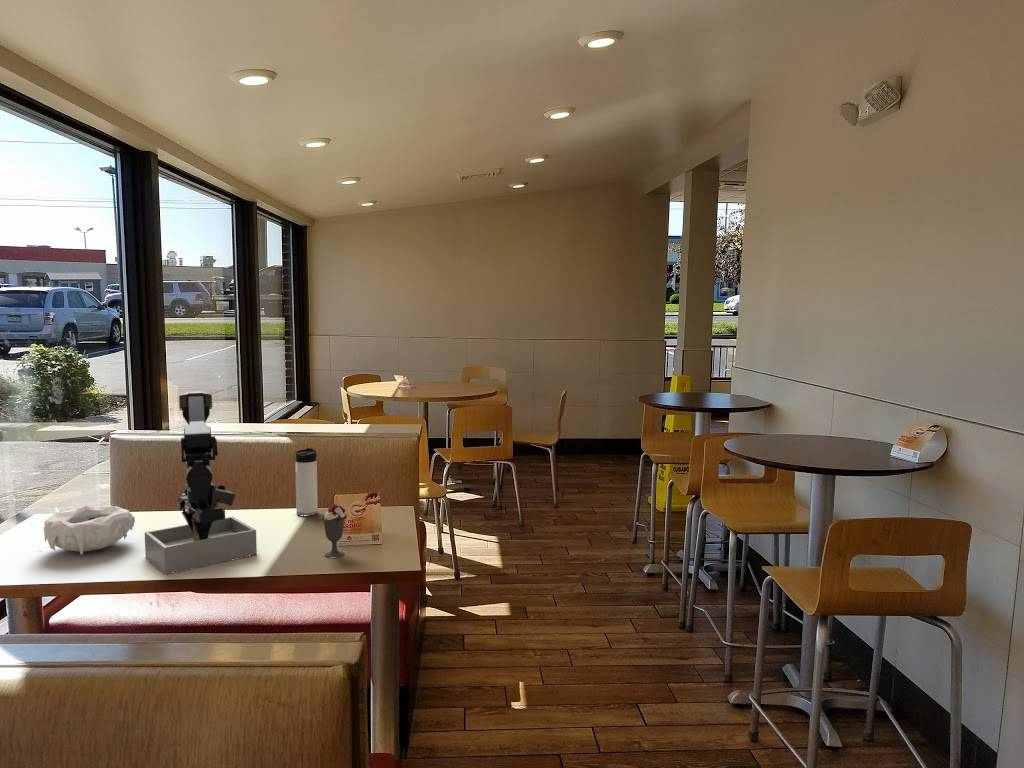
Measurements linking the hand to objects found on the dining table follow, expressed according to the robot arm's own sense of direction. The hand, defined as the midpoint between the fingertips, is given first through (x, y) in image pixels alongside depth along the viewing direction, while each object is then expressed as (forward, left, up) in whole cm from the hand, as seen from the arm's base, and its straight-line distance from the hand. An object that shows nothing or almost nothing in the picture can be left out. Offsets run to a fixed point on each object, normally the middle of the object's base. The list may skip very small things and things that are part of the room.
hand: (201, 541), depth 182 cm
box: (0, 0, -4) cm, 4 cm away
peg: (0, 0, -3) cm, 3 cm away
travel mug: (-19, +38, -4) cm, 43 cm away
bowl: (-24, -20, -4) cm, 31 cm away
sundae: (+21, +26, -4) cm, 34 cm away
